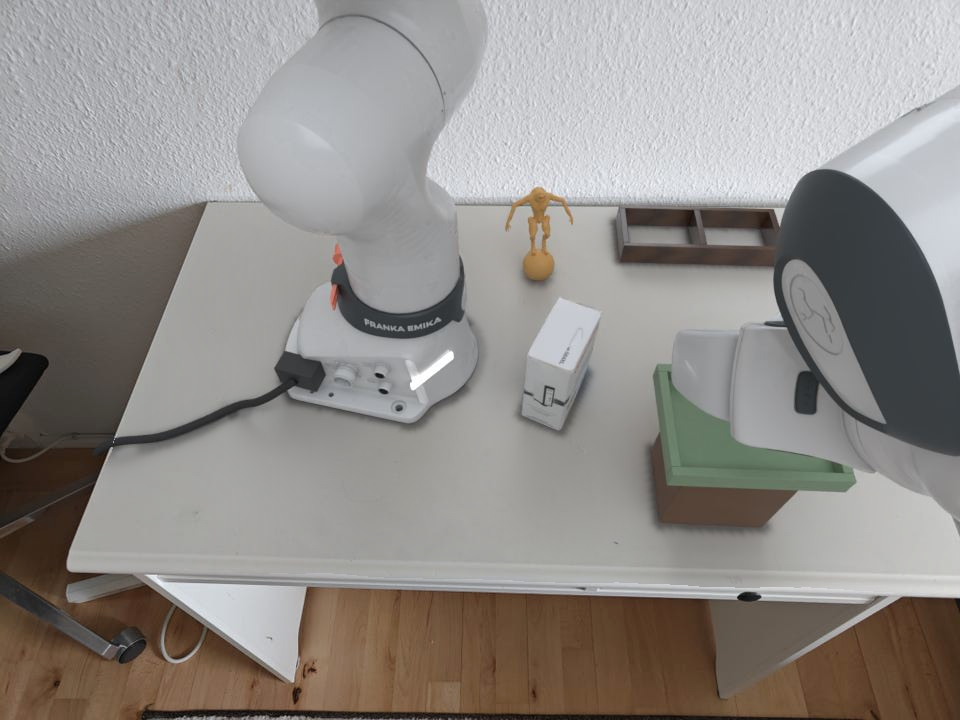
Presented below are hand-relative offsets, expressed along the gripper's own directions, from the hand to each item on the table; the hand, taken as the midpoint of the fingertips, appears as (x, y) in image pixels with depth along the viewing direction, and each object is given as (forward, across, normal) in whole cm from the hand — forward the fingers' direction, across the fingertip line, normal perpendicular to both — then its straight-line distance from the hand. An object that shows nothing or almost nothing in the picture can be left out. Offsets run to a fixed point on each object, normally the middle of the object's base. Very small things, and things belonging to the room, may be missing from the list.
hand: (791, 349), depth 46 cm
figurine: (+37, +17, -4) cm, 41 cm away
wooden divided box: (+41, -4, -8) cm, 42 cm away
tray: (+16, 0, +17) cm, 23 cm away
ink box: (+24, +15, +9) cm, 29 cm away
